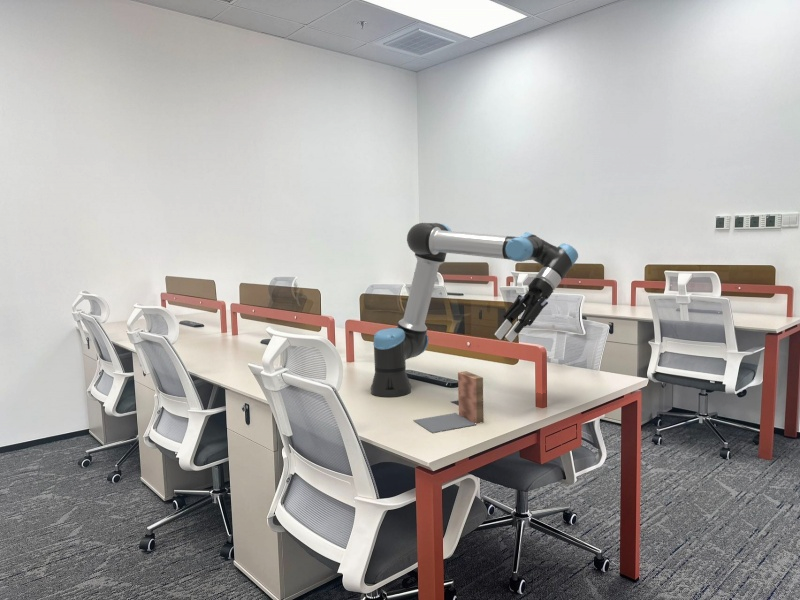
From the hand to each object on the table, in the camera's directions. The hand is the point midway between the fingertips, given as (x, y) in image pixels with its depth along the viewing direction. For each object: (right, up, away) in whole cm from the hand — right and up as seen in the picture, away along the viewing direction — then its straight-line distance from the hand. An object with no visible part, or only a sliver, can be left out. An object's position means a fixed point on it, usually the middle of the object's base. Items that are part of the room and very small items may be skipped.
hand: (502, 338), depth 178 cm
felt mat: (-19, -26, -6) cm, 33 cm away
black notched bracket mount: (-10, -24, +17) cm, 31 cm away
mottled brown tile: (-10, -25, -2) cm, 27 cm away
